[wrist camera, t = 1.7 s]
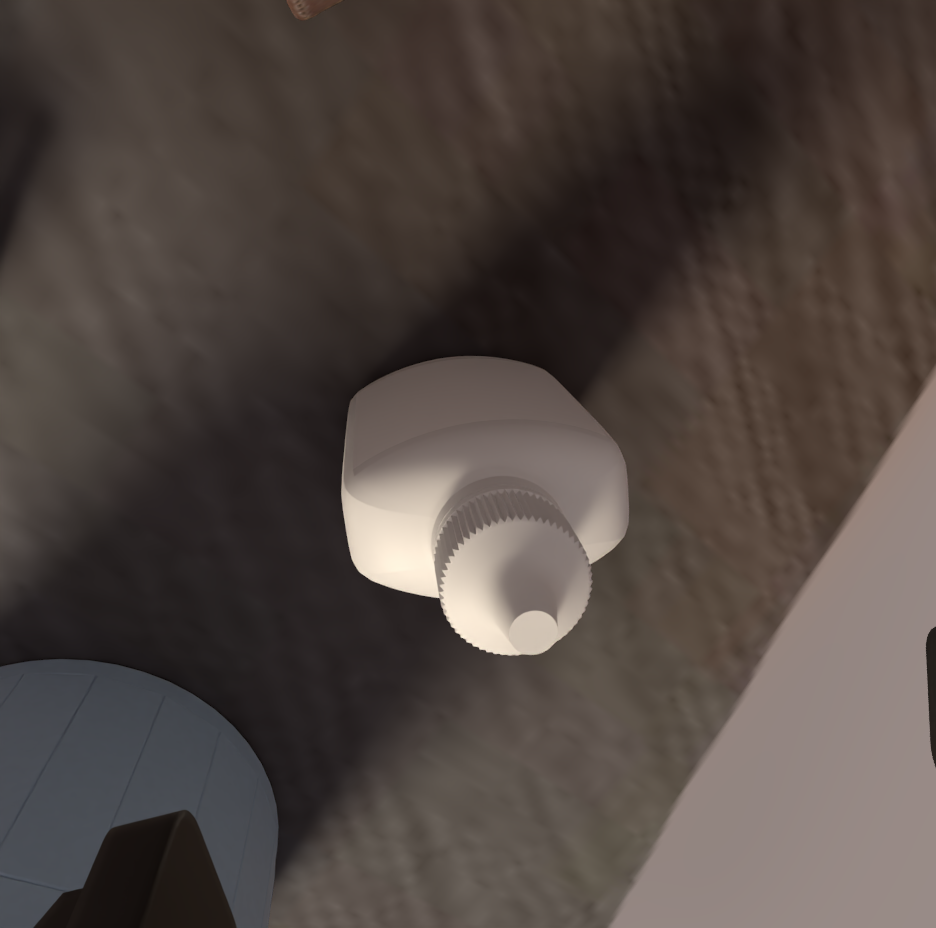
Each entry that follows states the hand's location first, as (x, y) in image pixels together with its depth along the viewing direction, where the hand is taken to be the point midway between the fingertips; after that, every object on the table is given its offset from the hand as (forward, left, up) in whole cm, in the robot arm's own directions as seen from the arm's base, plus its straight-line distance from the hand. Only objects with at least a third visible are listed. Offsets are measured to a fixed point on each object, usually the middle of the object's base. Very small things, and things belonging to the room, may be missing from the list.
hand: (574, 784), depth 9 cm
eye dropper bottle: (0, 0, -15) cm, 15 cm away
